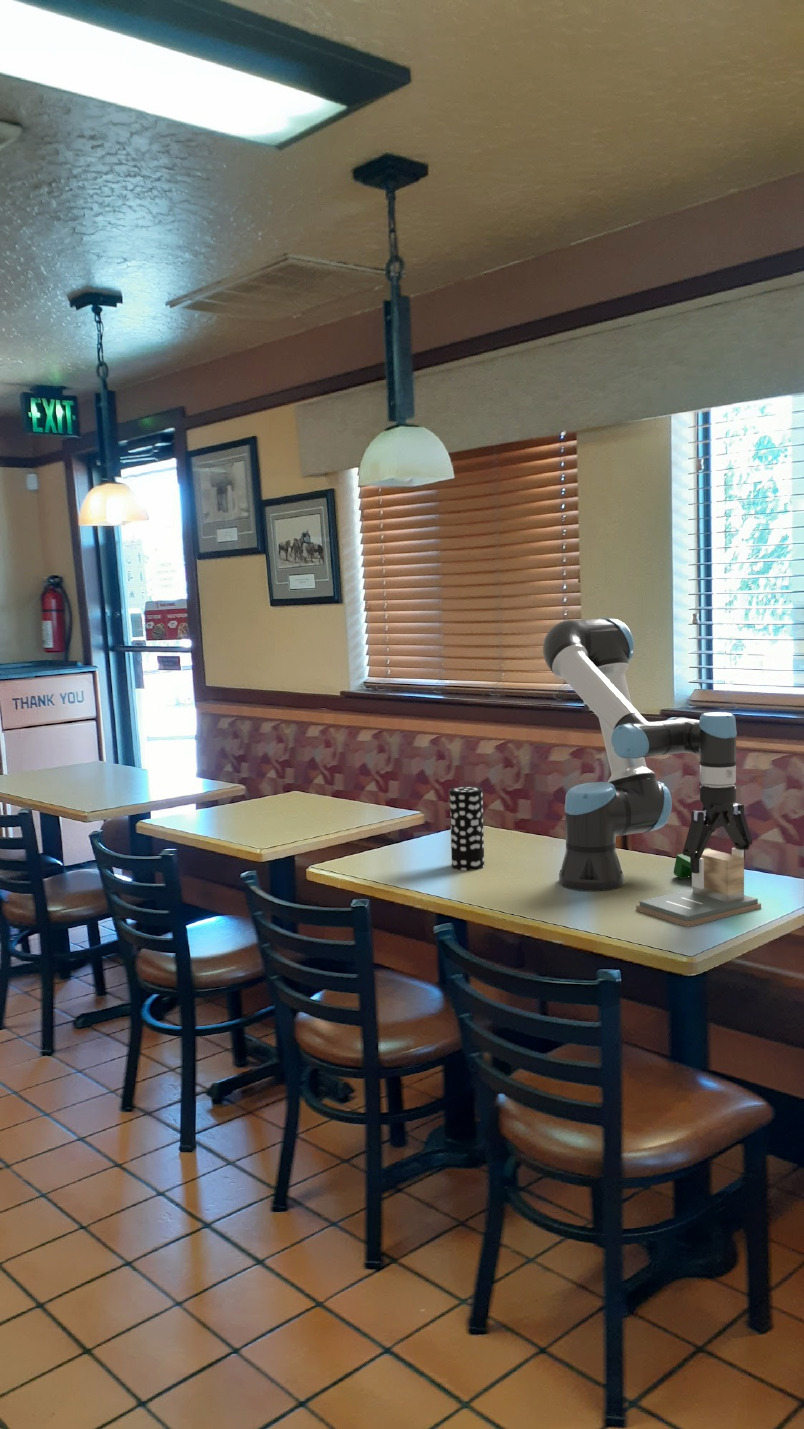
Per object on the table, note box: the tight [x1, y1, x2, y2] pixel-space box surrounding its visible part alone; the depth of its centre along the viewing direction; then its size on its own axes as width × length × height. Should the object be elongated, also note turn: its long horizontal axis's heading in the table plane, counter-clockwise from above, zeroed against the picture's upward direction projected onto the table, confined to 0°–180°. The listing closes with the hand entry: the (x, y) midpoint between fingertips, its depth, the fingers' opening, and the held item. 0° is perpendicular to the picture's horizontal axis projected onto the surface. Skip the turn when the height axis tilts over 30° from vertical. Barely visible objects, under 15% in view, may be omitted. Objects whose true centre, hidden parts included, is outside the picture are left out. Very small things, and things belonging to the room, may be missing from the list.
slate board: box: [635, 888, 762, 928], centre depth 231 cm, size 15×22×2 cm
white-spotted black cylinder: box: [449, 786, 485, 872], centre depth 273 cm, size 8×8×20 cm
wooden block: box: [692, 848, 745, 902], centre depth 234 cm, size 10×5×9 cm, turn 31°
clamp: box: [673, 847, 713, 880], centre depth 257 cm, size 12×6×9 cm, turn 117°
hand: (718, 882), depth 234 cm, fingers open, 12 cm apart
